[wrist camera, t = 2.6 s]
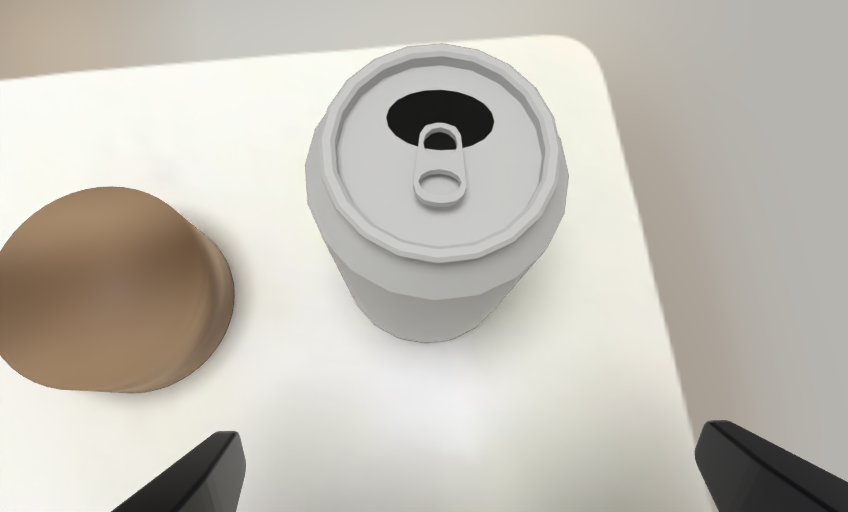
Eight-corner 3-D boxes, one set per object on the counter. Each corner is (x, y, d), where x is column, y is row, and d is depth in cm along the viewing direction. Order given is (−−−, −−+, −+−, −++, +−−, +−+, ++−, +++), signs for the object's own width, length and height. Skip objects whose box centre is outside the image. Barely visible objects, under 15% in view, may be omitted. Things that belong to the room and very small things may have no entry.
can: (503, 196, 26) (580, 23, 14) (505, 347, 23) (598, 291, 12) (352, 190, 25) (305, 11, 14) (341, 342, 23) (275, 279, 12)
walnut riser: (237, 378, 23) (202, 373, 19) (50, 405, 22) (-26, 405, 18) (230, 211, 25) (198, 175, 21) (59, 232, 24) (-6, 199, 20)
